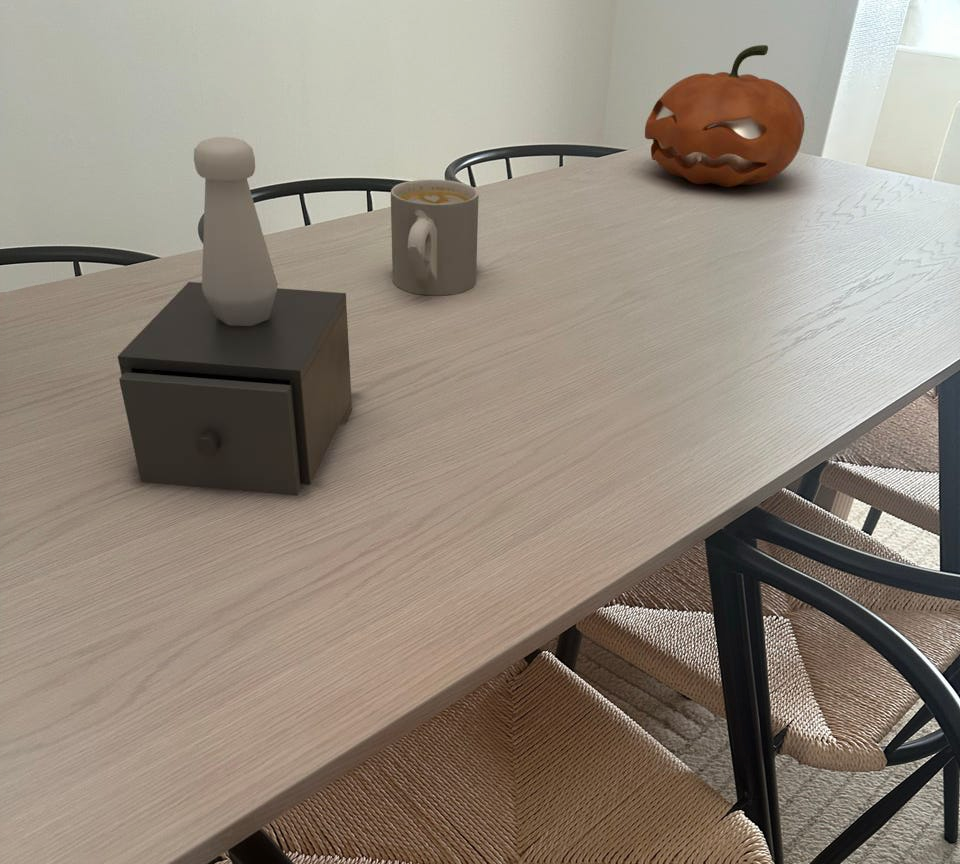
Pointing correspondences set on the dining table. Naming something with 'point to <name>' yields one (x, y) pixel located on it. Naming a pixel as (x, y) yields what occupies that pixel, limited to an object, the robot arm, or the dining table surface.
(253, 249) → the salt shaker
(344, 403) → the dark grey drawer box
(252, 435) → the dark grey drawer
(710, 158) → the pumpkin
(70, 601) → the dining table surface
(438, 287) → the coffee mug
